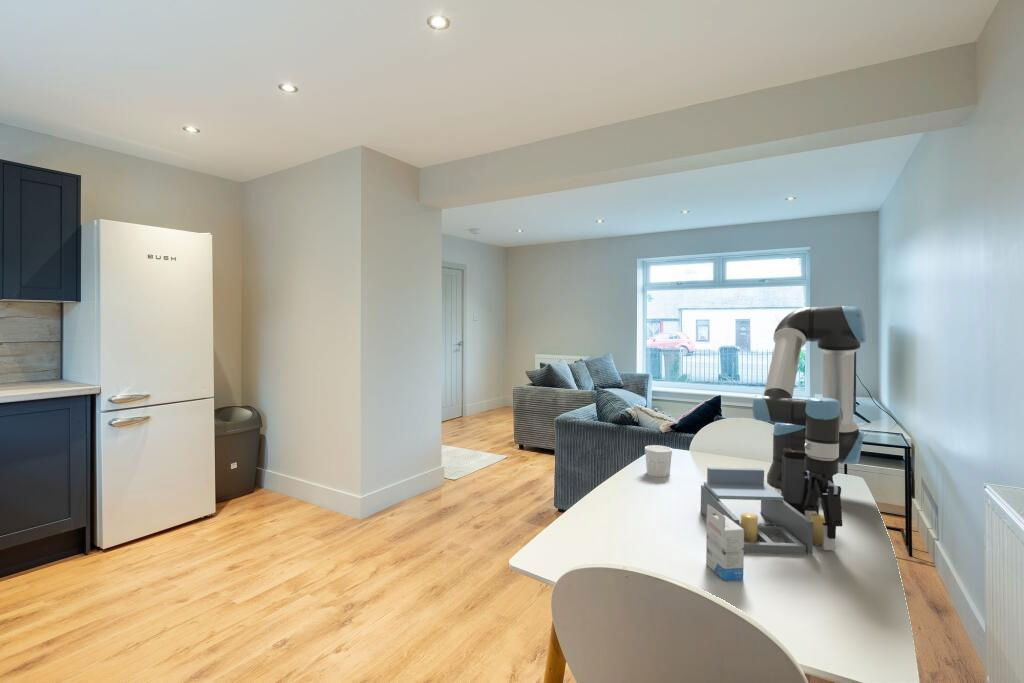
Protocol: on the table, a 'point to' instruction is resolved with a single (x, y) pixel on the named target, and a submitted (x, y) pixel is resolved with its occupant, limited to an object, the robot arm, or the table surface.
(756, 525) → the peg
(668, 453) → the cup
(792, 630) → the table surface
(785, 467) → the electronic device
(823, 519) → the cylinder
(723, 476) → the lid
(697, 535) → the table surface
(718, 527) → the ink box
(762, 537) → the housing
